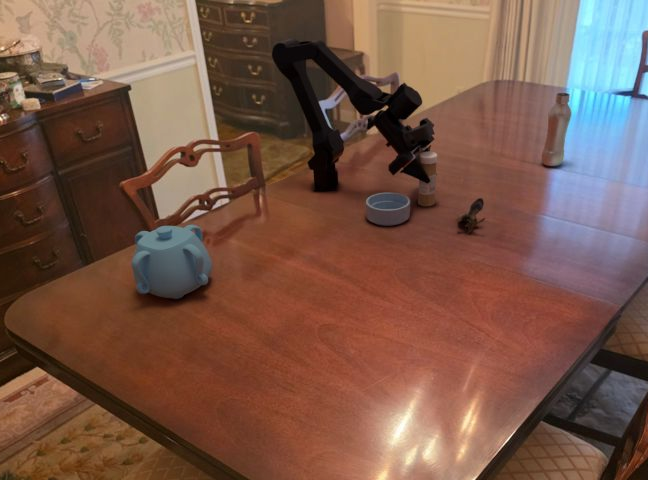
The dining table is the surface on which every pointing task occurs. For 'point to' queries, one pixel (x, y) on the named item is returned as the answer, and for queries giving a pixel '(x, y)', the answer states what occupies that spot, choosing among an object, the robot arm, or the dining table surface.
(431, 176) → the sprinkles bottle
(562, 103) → the plastic bottle
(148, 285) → the decorative pot
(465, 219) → the eagle figurine
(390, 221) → the bowl
